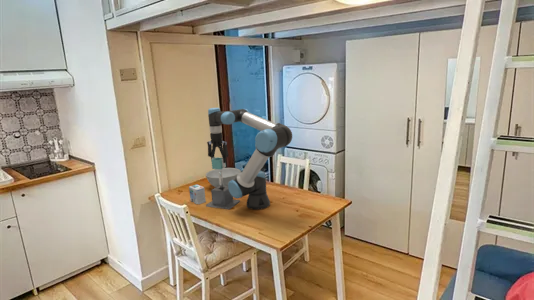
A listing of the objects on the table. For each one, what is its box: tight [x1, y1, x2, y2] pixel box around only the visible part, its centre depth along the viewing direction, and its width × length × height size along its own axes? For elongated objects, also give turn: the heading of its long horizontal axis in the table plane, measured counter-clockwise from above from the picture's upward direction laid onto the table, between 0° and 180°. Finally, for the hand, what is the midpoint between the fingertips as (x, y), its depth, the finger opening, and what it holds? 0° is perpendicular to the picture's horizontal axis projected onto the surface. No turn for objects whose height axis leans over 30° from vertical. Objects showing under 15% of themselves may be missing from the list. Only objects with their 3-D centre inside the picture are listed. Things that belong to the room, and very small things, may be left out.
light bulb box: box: [188, 184, 207, 205], centre depth 230 cm, size 11×7×11 cm, turn 40°
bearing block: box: [205, 185, 241, 210], centre depth 222 cm, size 18×14×11 cm
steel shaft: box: [218, 171, 224, 189], centre depth 220 cm, size 2×2×16 cm
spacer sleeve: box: [211, 157, 227, 170], centre depth 215 cm, size 6×6×6 cm
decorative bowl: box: [205, 167, 242, 188], centre depth 256 cm, size 27×27×12 cm
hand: (219, 167), depth 216 cm, fingers closed on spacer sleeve, 6 cm apart
